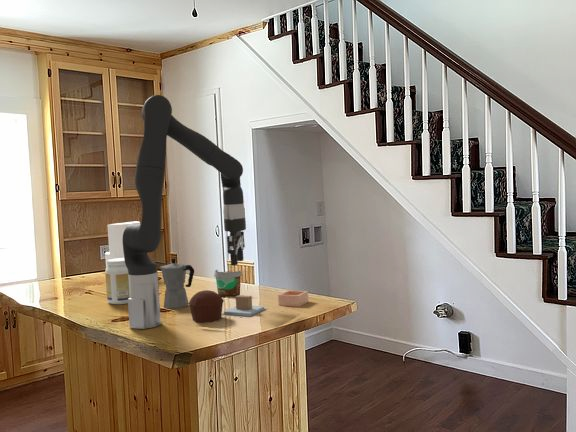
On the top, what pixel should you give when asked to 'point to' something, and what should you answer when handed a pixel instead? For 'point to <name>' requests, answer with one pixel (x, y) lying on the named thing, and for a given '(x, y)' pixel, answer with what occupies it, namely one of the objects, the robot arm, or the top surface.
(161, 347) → the top surface
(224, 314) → the mat
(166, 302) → the coffeepot
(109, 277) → the supplement tub
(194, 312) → the muffin
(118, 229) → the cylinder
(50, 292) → the top surface
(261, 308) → the lid
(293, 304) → the dish
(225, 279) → the food container
